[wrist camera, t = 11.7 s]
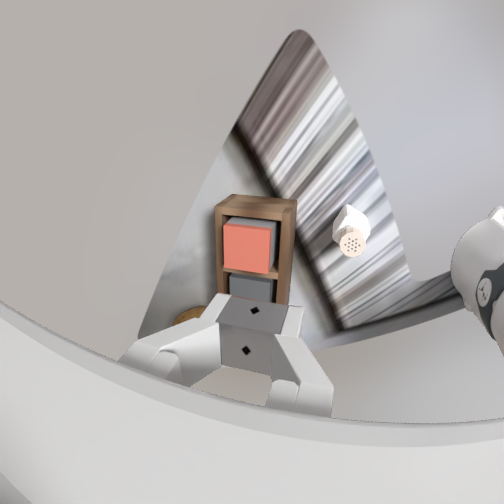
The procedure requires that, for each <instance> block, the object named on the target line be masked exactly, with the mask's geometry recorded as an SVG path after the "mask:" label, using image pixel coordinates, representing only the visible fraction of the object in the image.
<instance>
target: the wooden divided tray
mask: <svg viewBox="0 0 504 504" xmlns="http://www.w3.org/2000/svg"><path fill="white" fill-rule="evenodd" d="M296 211H297V200H290V199H280V198H270V197H260V196H249V195H237V194H232V195H230V196H229V197H227V198H226V199H224V200H223V201H222V202H220V203H219V204H217V205H216V206H215V242H216V270H217V293H224V294H229V295H230V275H231V274H232V272H233V273H239V274H245V275H252V276H258V277H264V278H271V279H278V281H277V295H276V299H275V301H274V303H276V304H283V305H288V302H289V292H290V282H291V272H292V261H293V249H294V237H295V225H296ZM233 216H243V217H253V218H262V219H271V220H279V232H278V249H277V256H276V258H275V261H274V263H273V265H272V267H271V269H270V271H269V273H268V274H263V273H256V272H249V271H243V270H237V269H230V268H224V231H223V225H224V224H225V223H227V222H228V221H229V220H230V219H231V218H232V217H233Z"/></svg>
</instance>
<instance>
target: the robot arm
mask: <svg viewBox="0 0 504 504" xmlns="http://www.w3.org/2000/svg"><path fill="white" fill-rule="evenodd" d="M451 278H452V281H453V284H454V286H455V288H456V289H457V290H458V292H459V293H460V294H461V295H462V297H463V302H464V306H465V308H466V309H467V310H468V311H473V312H474V314H475V315H476V317H477V318H478V320H479V321H480V322H481V324H482V325H483V326H484V327H485V328H486V330H487V332H488V333H489V334H490V336H491V337H492V338H493V339H494V340H495V341H496V342H497V344H498V346H499V348H500V350H501V352H502V354H503V356H504V208H503V207H502V206H497V207H496V208H495V209H494V210H493V211H492V212H491V213H490V215H489V216H488V217H487V218H486V219H484V220H482V221H481V222H479V223H477V224H475V225H474V226H472V227H471V228H470V229H469V230H467V232H466V233H465V234H464V235H463V236H462V237H461V239H460V240H459V242H458V244H457V246H456V248H455V250H454V253H453V256H452V261H451ZM304 310H305V308H304V307H301V306H292V305H290V306H289V305H283V304H276V303H270V302H263V301H259V300H254V299H249V298H244V297H239V296H234V295H233V296H232V295H229V294H224V293H217V294H216V295H215V296H214V298H213V299H212V301H211V302H210V303H209V305H208V306H207V308H206V309H205V310H204V312H203V313H202V315H201V316H200V317H199V318H193V319H190V320H188V321H185V322H183V323H180V324H177V325H175V326H172V327H170V328H167V329H165V330H162V331H160V332H157V333H154V334H152V335H149V336H147V337H144V338H141V339H139V340H136V341H135V342H134V343H133V344H132V346H131V347H130V348H129V349H128V350H127V351H126V353H125V354H124V355H123V356H122V357H121V358H120V359H119V361H118V362H117V361H115V360H112V359H110V358H108V357H106V356H103V355H101V354H99V353H96V352H94V351H92V350H90V349H88V348H85V347H83V346H81V345H79V344H77V343H75V342H73V341H71V340H69V339H67V338H65V337H63V336H61V335H59V334H57V333H55V332H53V331H51V330H49V329H47V328H46V327H44V326H42V325H40V324H38V323H37V322H35V321H33V320H31V319H30V318H28V317H26V316H25V315H23V314H21V313H19V312H17V311H16V310H15V309H13V308H11V307H10V306H8V305H6V304H5V303H3V302H2V301H0V504H504V418H498V419H490V420H481V421H471V422H457V423H456V422H455V423H385V422H369V421H368V422H367V421H356V420H346V419H345V420H344V419H336V418H331V410H332V402H333V394H334V386H333V385H332V383H331V382H330V380H329V378H328V377H327V375H326V374H325V373H324V371H323V370H322V368H321V366H320V365H319V363H318V362H317V360H316V359H315V357H314V356H313V354H312V353H311V351H310V350H309V348H308V347H307V345H306V344H305V342H304V341H303V339H302V338H300V336H301V330H302V323H303V317H304ZM221 365H225V366H230V367H235V368H239V369H245V370H249V371H253V372H258V373H262V374H266V375H270V376H271V379H272V382H273V385H272V388H271V391H270V394H269V396H268V399H267V402H266V405H265V407H264V406H259V405H254V404H250V403H246V402H241V401H237V400H233V399H229V398H225V397H222V396H218V395H214V394H210V393H207V392H203V391H200V390H197V389H193V388H190V386H191V385H193V384H195V383H196V382H198V381H199V380H201V379H202V378H204V377H205V376H207V375H208V374H210V373H211V372H213V371H215V370H216V369H218V368H219V367H221Z"/></svg>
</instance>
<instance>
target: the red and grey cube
mask: <svg viewBox="0 0 504 504" xmlns="http://www.w3.org/2000/svg"><path fill="white" fill-rule="evenodd" d="M223 231H224V268H230V269H237V270H243V271H249V272H256V273H263V274H268V273H269V271H270V269H271V267H272V265H273V263H274V261H275V258H276V256H277V249H278V232H279V220H271V219H262V218H253V217H243V216H233V217H232V218H231V219H230V220H229V221H228V222H227V223H225V224H224V225H223Z"/></svg>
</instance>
